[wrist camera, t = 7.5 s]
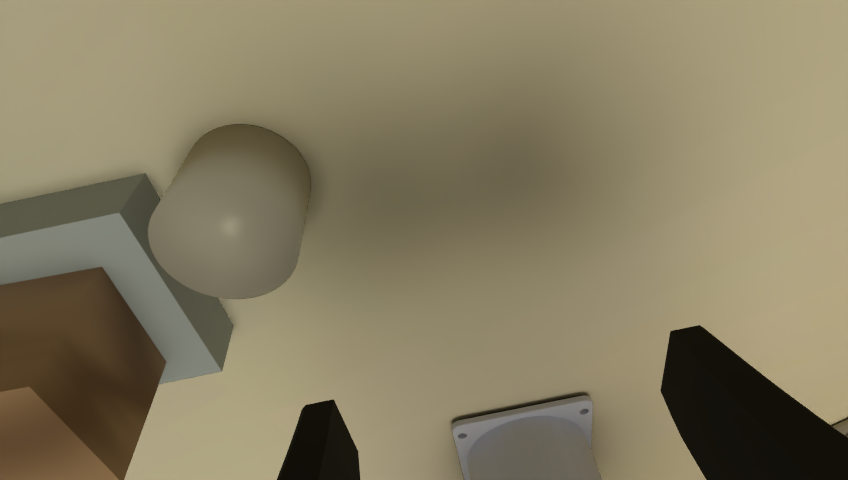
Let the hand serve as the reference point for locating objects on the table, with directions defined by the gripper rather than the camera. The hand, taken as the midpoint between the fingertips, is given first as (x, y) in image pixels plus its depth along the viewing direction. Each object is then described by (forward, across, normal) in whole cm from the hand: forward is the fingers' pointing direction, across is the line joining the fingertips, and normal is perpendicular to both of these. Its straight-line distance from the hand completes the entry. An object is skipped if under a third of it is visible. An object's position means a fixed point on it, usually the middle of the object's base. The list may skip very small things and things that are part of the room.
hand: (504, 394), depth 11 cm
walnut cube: (+8, +15, +2) cm, 17 cm away
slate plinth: (+11, +14, +2) cm, 18 cm away
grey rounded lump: (+10, +7, -1) cm, 13 cm away
